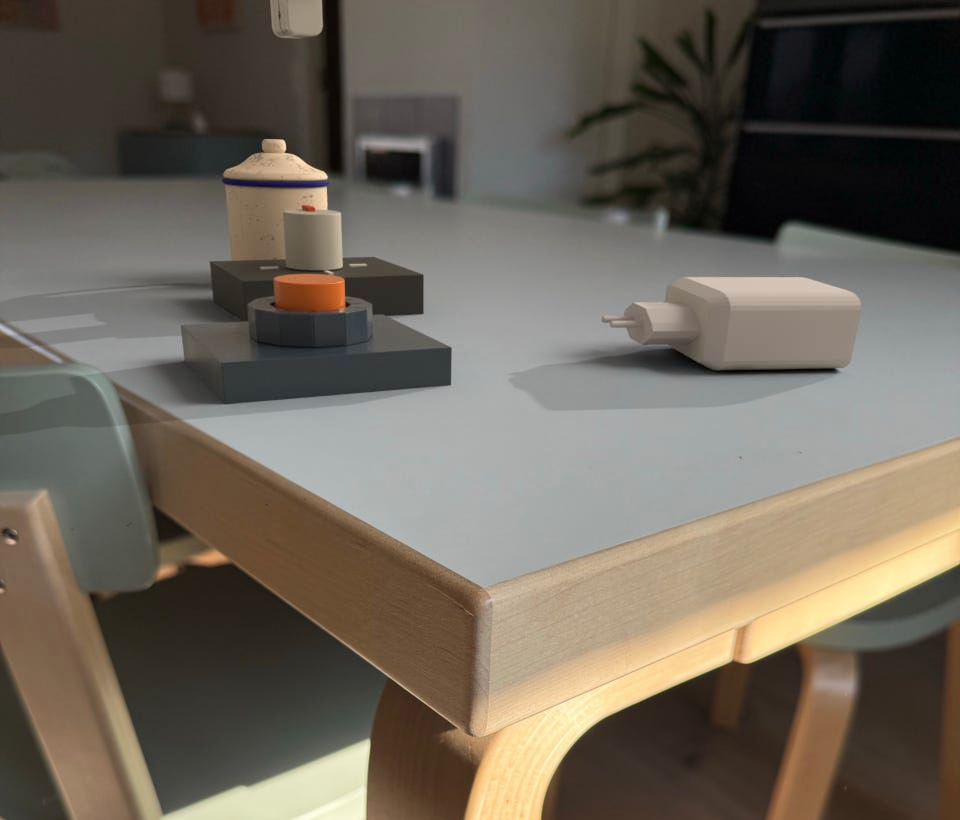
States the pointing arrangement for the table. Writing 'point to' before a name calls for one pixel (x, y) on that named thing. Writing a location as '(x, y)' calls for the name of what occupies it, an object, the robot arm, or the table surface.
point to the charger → (749, 322)
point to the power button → (309, 292)
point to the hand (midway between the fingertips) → (297, 37)
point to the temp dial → (313, 239)
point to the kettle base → (363, 275)
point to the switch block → (312, 353)
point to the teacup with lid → (268, 199)
